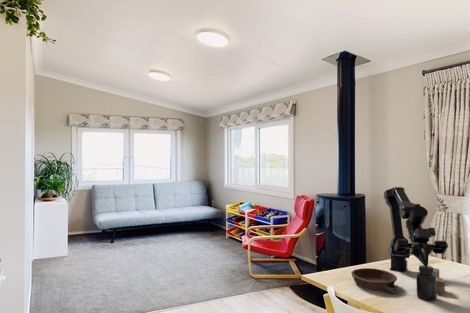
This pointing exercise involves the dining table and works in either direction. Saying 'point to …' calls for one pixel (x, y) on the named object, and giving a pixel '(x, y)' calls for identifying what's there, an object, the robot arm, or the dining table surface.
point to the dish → (375, 279)
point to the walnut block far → (436, 272)
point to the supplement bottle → (426, 283)
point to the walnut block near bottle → (440, 286)
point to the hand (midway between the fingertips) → (426, 265)
